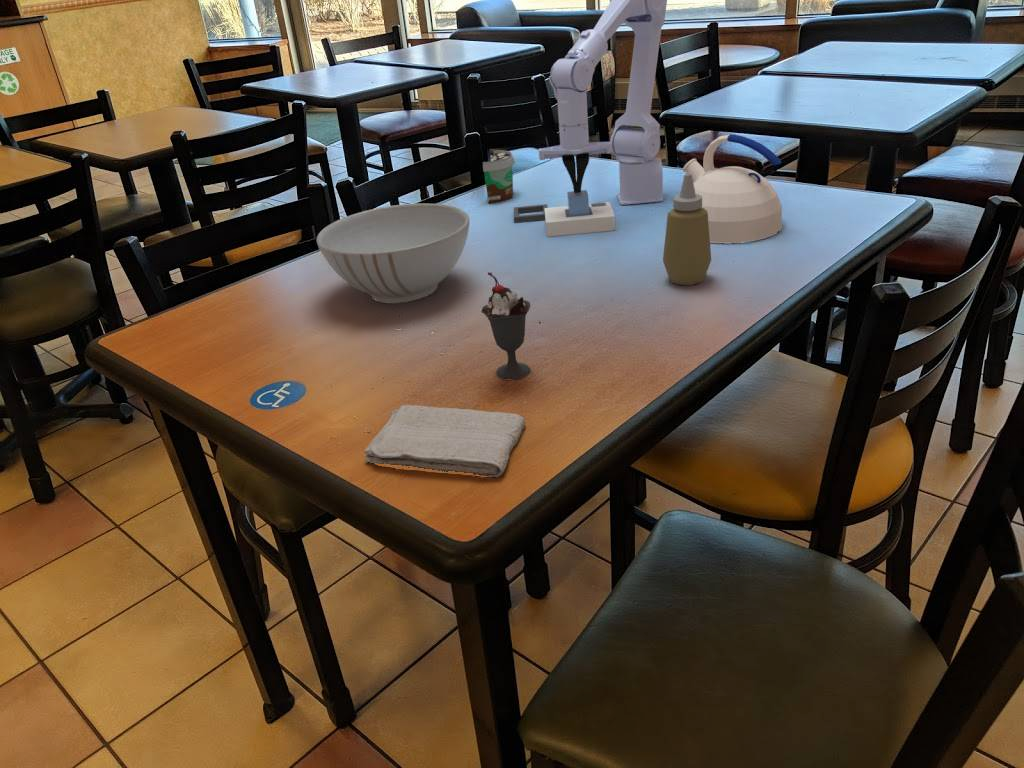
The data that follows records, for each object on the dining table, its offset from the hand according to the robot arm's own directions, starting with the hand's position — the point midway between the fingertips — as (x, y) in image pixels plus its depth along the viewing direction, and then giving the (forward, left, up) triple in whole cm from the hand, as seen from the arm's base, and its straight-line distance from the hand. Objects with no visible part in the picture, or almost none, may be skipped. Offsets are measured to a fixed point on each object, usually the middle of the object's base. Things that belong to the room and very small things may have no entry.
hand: (577, 191), depth 161 cm
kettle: (-29, +9, -8) cm, 31 cm away
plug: (0, 0, -7) cm, 7 cm away
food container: (+16, -27, -8) cm, 32 cm away
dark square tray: (+10, -10, -7) cm, 16 cm away
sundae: (+14, +62, -8) cm, 64 cm away
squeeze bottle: (-16, +34, -8) cm, 38 cm away
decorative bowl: (+34, +27, -8) cm, 44 cm away
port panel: (0, 0, -7) cm, 7 cm away
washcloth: (+22, +79, -8) cm, 83 cm away
